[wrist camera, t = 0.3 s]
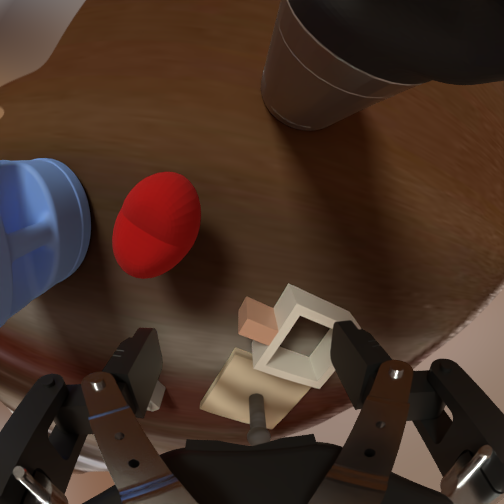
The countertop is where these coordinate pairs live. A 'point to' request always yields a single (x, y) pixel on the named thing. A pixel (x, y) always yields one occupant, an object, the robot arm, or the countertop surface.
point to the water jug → (39, 229)
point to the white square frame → (278, 326)
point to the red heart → (156, 225)
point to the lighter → (156, 397)
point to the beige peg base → (251, 396)
